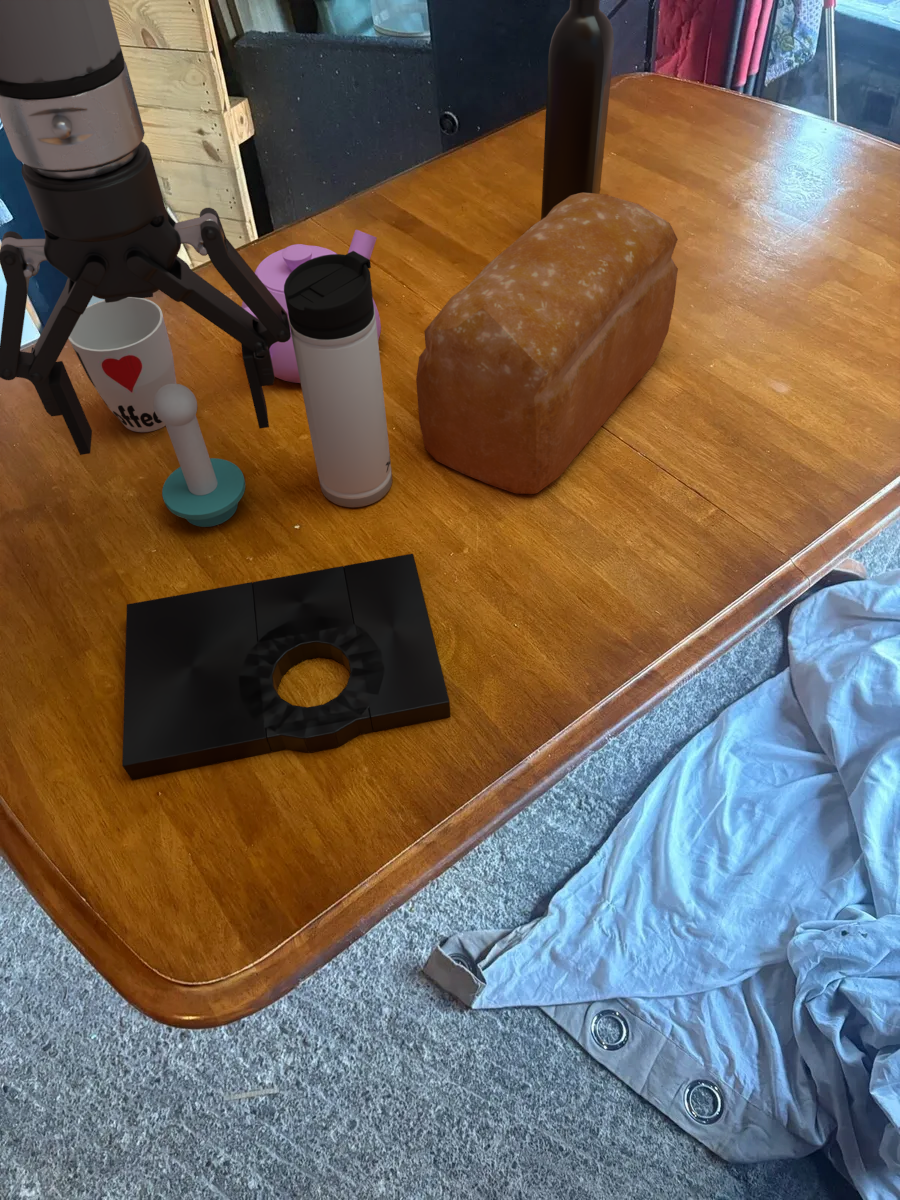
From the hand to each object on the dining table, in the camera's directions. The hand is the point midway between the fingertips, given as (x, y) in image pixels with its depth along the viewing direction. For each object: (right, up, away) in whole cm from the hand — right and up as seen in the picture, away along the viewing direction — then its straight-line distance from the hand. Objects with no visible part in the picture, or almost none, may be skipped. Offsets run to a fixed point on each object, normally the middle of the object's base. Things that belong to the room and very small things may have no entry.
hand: (175, 430), depth 69 cm
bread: (+31, +6, +15) cm, 34 cm away
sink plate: (+9, -18, -4) cm, 21 cm away
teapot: (+8, +13, +21) cm, 26 cm away
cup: (-7, +4, +15) cm, 17 cm away
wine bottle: (+35, +28, +32) cm, 55 cm away
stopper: (+1, -5, +7) cm, 9 cm away
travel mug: (+13, -3, +8) cm, 16 cm away
